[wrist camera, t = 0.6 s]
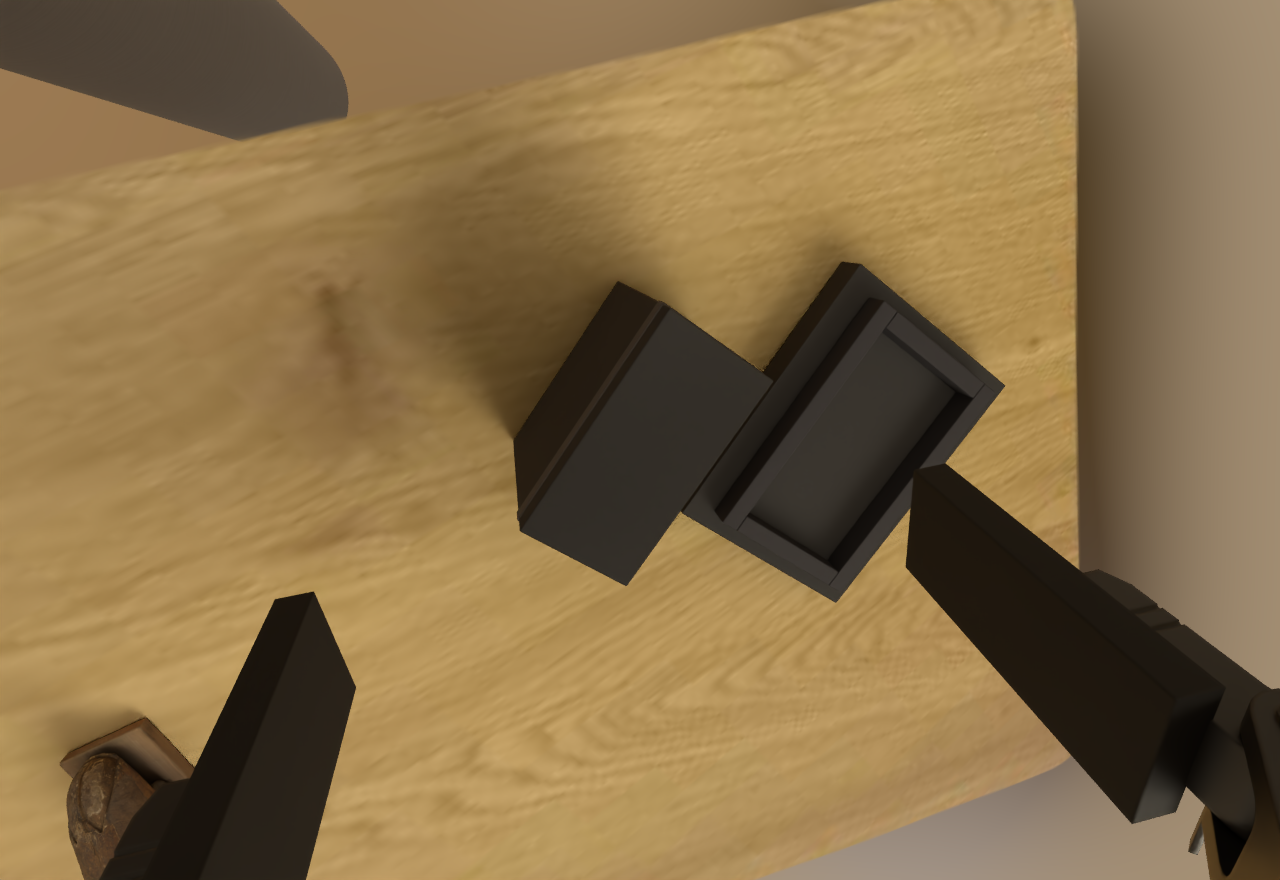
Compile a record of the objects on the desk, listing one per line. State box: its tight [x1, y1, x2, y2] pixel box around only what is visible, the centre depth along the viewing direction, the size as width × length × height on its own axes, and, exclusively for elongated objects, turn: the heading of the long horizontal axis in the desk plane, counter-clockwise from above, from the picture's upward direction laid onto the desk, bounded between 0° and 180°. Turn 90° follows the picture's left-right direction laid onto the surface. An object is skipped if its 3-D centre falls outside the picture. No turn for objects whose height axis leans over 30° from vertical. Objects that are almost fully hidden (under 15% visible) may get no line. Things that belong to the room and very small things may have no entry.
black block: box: [513, 281, 773, 586], centre depth 30 cm, size 5×10×11 cm, turn 145°
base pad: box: [681, 262, 1005, 602], centre depth 37 cm, size 12×16×4 cm
